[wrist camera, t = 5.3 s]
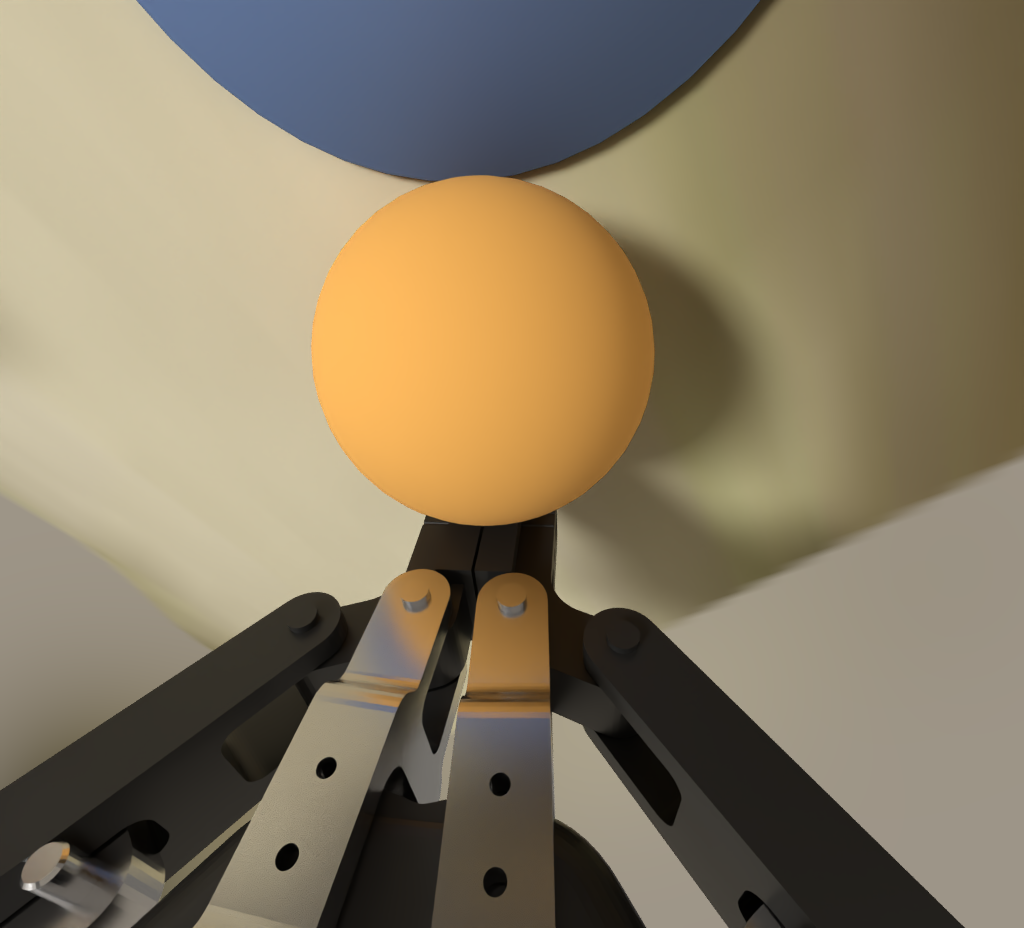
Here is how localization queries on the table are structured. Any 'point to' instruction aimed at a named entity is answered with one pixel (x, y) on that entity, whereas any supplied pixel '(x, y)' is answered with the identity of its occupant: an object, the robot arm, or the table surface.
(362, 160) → the blue plate
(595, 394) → the ball
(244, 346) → the table surface
